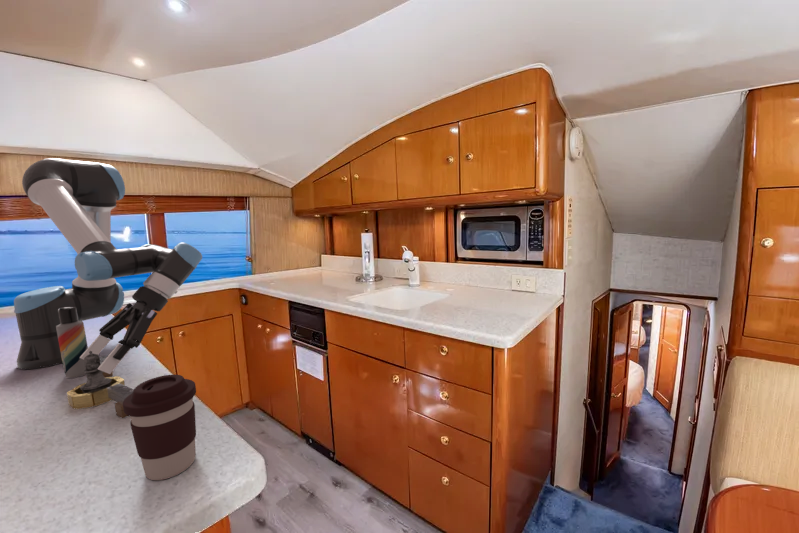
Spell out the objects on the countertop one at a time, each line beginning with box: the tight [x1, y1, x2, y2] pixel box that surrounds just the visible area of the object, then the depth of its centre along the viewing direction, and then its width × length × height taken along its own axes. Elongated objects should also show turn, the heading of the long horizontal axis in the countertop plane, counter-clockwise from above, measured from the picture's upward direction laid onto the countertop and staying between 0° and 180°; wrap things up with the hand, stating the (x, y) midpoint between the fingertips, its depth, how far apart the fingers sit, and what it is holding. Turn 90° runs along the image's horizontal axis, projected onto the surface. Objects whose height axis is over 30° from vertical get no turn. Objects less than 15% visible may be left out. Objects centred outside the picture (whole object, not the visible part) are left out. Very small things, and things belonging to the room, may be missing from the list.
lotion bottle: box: [56, 307, 89, 379], centre depth 99 cm, size 6×6×20 cm
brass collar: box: [66, 375, 126, 410], centre depth 85 cm, size 10×10×3 cm
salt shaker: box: [80, 351, 112, 394], centre depth 84 cm, size 6×6×12 cm
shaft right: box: [107, 383, 135, 419], centre depth 78 cm, size 8×4×5 cm, turn 60°
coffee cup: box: [123, 374, 197, 481], centre depth 58 cm, size 10×10×15 cm
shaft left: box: [99, 354, 114, 378], centre depth 96 cm, size 8×4×5 cm, turn 36°
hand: (94, 365), depth 84 cm, fingers open, 13 cm apart
